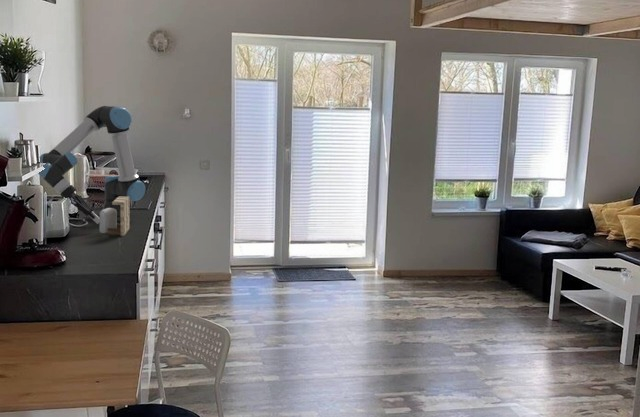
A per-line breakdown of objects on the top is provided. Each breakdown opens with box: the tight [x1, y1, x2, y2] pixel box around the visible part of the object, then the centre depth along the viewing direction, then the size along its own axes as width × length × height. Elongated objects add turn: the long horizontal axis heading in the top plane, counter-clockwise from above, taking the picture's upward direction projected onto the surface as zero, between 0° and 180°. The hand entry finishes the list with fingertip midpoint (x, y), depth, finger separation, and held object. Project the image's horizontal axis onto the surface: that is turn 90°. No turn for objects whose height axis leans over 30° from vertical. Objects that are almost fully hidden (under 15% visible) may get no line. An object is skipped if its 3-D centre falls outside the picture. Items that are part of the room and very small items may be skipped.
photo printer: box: [98, 208, 118, 234], centre depth 322 cm, size 10×4×12 cm, turn 159°
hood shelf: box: [107, 196, 131, 237], centre depth 322 cm, size 18×8×17 cm, turn 8°
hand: (99, 222), depth 321 cm, fingers closed
